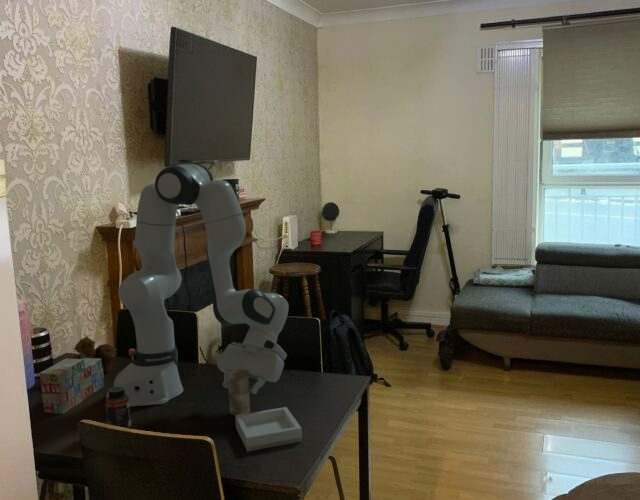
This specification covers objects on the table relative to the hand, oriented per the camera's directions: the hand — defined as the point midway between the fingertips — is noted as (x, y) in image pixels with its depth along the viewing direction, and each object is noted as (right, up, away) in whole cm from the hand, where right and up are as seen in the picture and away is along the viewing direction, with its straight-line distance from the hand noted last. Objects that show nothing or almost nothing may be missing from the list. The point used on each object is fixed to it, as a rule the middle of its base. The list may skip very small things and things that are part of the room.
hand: (238, 389), depth 171 cm
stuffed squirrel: (-53, -3, +35) cm, 63 cm away
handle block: (0, -7, +1) cm, 7 cm away
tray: (+9, -9, -12) cm, 18 cm away
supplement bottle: (-31, -9, -7) cm, 33 cm away
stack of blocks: (-51, -6, +15) cm, 54 cm away
